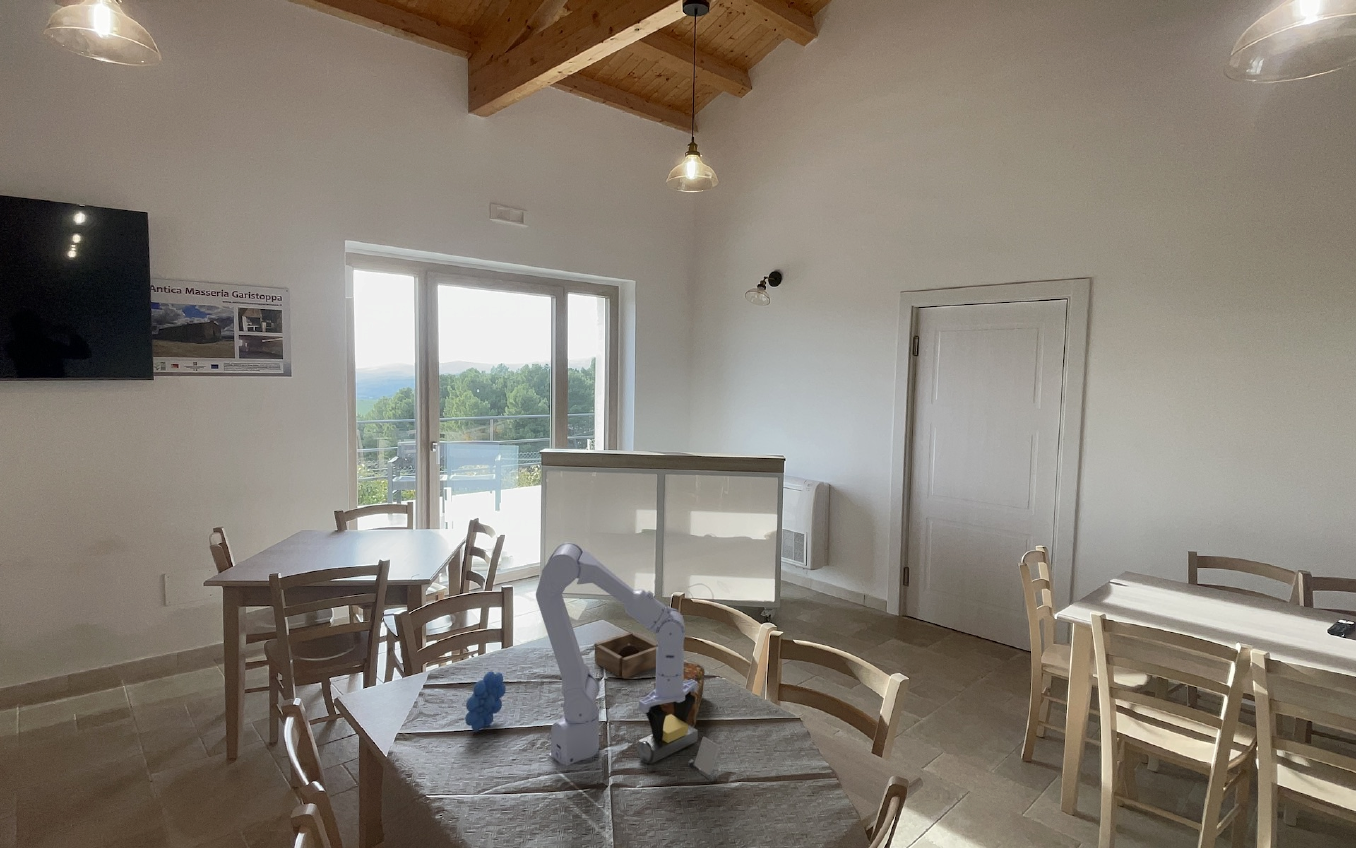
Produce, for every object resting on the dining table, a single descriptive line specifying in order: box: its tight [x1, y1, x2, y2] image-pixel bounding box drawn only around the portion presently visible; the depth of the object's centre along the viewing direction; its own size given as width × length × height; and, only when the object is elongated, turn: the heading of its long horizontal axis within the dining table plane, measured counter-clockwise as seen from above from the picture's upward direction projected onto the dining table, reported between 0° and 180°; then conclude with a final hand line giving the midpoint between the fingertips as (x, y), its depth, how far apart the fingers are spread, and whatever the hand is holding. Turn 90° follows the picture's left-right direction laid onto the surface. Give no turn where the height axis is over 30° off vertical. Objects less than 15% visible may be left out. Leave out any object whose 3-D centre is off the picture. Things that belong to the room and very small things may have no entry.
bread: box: [653, 661, 705, 728], centre depth 160 cm, size 19×11×10 cm, turn 171°
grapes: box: [464, 670, 507, 732], centre depth 153 cm, size 12×7×12 cm, turn 152°
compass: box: [617, 643, 639, 658], centre depth 184 cm, size 8×8×7 cm
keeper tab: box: [689, 736, 721, 781], centre depth 136 cm, size 6×6×1 cm
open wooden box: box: [594, 632, 658, 679], centre depth 186 cm, size 13×13×5 cm
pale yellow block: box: [650, 714, 688, 743], centre depth 142 cm, size 5×5×6 cm
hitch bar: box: [636, 723, 718, 783], centre depth 138 cm, size 13×16×5 cm
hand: (668, 733), depth 142 cm, fingers closed on pale yellow block, 5 cm apart
